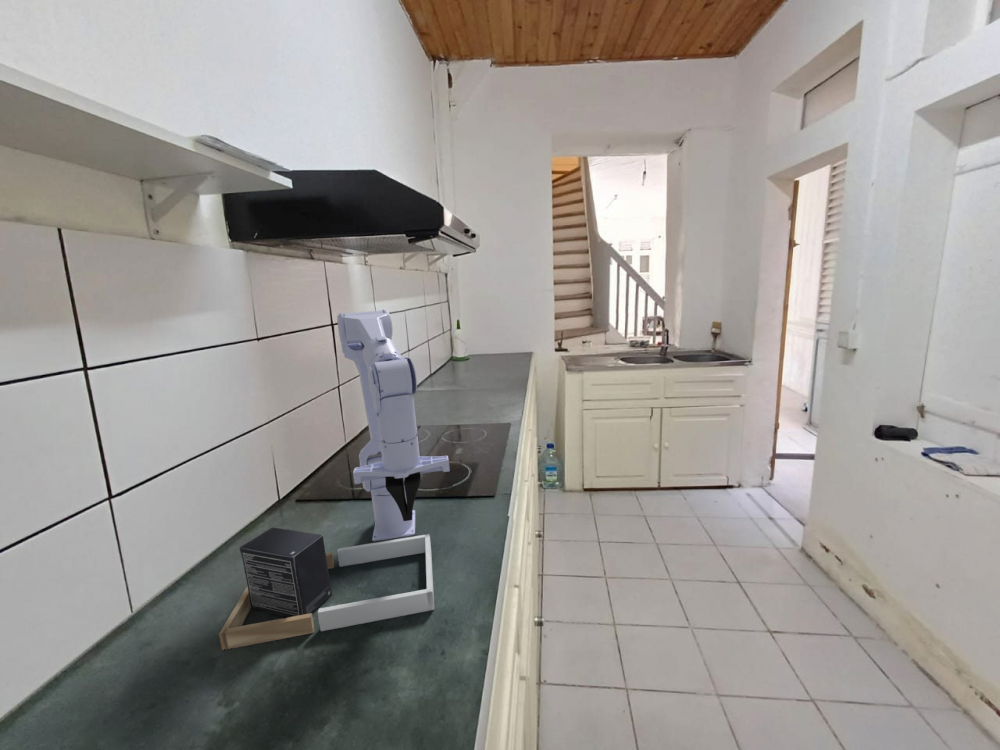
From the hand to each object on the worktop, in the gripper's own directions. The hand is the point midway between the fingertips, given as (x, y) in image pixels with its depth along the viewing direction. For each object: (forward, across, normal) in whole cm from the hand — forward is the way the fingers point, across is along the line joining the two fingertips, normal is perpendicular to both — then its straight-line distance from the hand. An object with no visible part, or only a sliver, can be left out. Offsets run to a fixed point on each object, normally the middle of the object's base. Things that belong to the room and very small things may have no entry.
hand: (408, 517), depth 68 cm
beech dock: (+10, -20, -1) cm, 22 cm away
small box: (+11, -19, -1) cm, 21 cm away
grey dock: (+10, -5, -1) cm, 12 cm away
